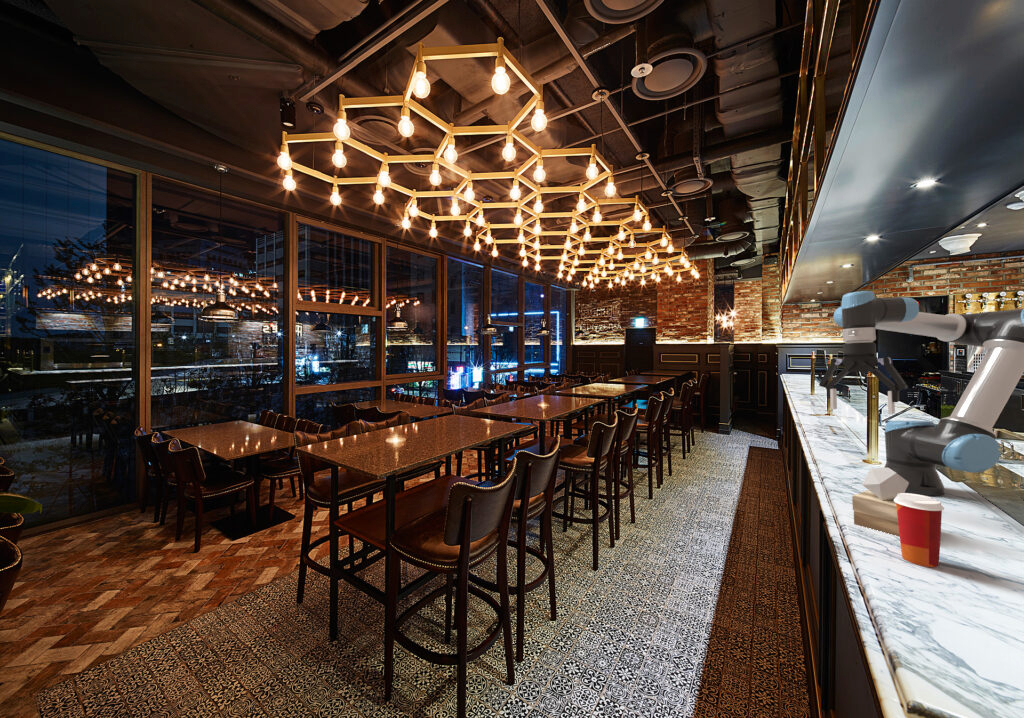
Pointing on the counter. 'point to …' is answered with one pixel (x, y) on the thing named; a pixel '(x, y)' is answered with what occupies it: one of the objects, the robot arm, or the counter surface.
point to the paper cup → (919, 528)
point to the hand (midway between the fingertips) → (861, 411)
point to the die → (885, 483)
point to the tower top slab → (875, 506)
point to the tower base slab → (876, 523)
